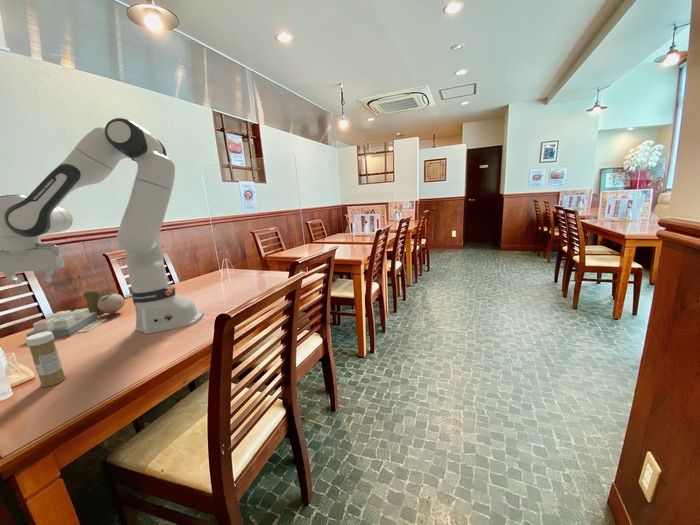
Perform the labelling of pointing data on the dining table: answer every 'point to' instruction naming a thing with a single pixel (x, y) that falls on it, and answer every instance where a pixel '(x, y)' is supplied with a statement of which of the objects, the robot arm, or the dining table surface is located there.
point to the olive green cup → (93, 301)
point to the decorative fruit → (111, 303)
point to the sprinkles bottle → (46, 358)
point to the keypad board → (69, 330)
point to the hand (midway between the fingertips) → (32, 283)
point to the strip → (91, 326)
